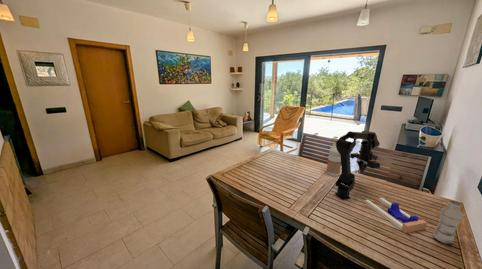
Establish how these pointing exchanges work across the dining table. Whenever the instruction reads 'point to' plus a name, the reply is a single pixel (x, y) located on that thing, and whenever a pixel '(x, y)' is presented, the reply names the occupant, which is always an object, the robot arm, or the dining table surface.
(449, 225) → the plastic bottle
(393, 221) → the guide channel
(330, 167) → the fruit juice
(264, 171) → the dining table surface
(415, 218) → the cable clip
